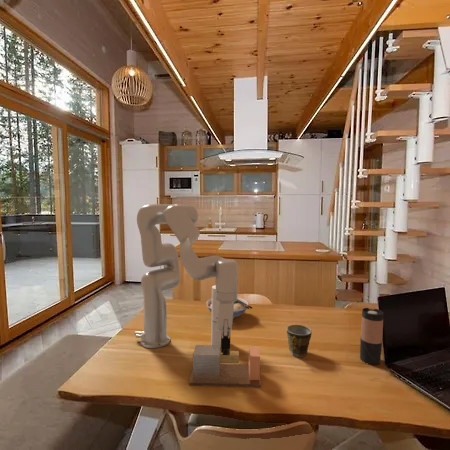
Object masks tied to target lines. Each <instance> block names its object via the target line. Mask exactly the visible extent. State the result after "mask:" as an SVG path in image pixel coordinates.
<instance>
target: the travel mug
mask: <svg viewBox="0 0 450 450" xmlns="http://www.w3.org/2000/svg"><path fill="white" fill-rule="evenodd" d="M360 326H361V327H360V339H359V340H360V342H359V343H360V345H359V347H360V348H359V358H360V361H361V360H362V361H361V362H363V361H364V362H365V363H364V362H363V363H364V364H366V363H368V364H367V365H369V364H372V365H371V366H378V365H380V364H379V363H381V356H382V348H383V347H382V345H383V335H384V334H383V332H384V329H383V328H384V311H383V310H380V309H377V308H374V309H370V308H369V307H365V308H362V311H361V325H360ZM377 364H378V365H377Z"/></svg>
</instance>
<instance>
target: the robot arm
mask: <svg viewBox="0 0 450 450" xmlns="http://www.w3.org/2000/svg"><path fill="white" fill-rule="evenodd" d="M198 220H199V214H198V210H197V209H196V208H195V206H193V205H191V204H175V203H174V204H171V203H169V204H168V203H164V204H163V203H152V204H151V203H150V204H146V205H143V206H141V208H139V210H138V212H137V215H136V224H137V228H138V230H139V231H138V232H139V235H140V244H141V245H140V246H141V254H142V255H141V256H142V261H143V264H144V266H145V267H146V268H156V267H161V266H163V268H159V269H154V270H150V271H147V272H145V273H144V274H143V275H142V277H141V280H140V283H141V289H142V295H143V330H142V331H140V330H138V331H137V330H135V331H134V336H135V339H140V345H141V346H142V347H144V348H147V349H159V348H162V347H165V346H167V345H168V344H169V343H170V342H171V337H170V335H168V333H167V332H168V331H167V330H168V329H167V324H168V323H167V318H168V317H167V316H168V315H167V300H166V297H165V296H164V294H163V292H164V291H167V290H170V289H173V288H176V287H178V285H179V284H180V280H181V271H180V261H181V264H182V266H183V268H184V269H185V270H186V272H187V274H188V275H189V277H191V278H192V279H193V280H195V281H203V280H207V279H210V278H215V285H216V301H218V331H219V330H222V332H221V347H220V350H221V349H230V350H231V331H232V330H233V323H234V322H233V321H234V318H233V309H234V302H235V301H237V298H238V280H239V278H238V277H239V276H238V275H239V273H238V272H239V264H238V262H237V261H236V260H235V259H230V258H224V257H222V256H219V255H210V256H204V257H198V255H197V253H196V252H195V251H194V248H193V244H194V243H195V242H196V241H197V240H198V238H200V233H201V232H200V230H199V228H198V227H197V226H196V223H197V222H198ZM156 225H167V226H168V227H169V228H170V230H171V231H172V232H173V234H174V236H175V237H176V239H177V240H178V242H179V243H180V244H179V252H178V250H177V247H175V245H174V244H173V243H168V242H166V243H163V242H162V241H163V240H162V235H161V232H160V230H159V229H158V227H157V226H156ZM179 258H180V259H179ZM179 260H180V261H179ZM223 328H224V329H223ZM228 328H229V329H228ZM223 331H224V333H223Z"/></svg>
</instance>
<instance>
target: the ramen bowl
mask: <svg viewBox="0 0 450 450" xmlns="http://www.w3.org/2000/svg"><path fill="white" fill-rule="evenodd" d="M206 306H207V308H208V310H209V312H211V314H212V298H210V299H208V300H207V301H206ZM250 309H253V307H252V306H250V303H249V302H248V301H247V300H246V299H243V298H241V297H237V301H235V302H234V309H233V319H234V318H237V317H240V316H242V315H243V314H244V313H245V312H246V310H250Z"/></svg>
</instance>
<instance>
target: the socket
mask: <svg viewBox="0 0 450 450" xmlns="http://www.w3.org/2000/svg"><path fill="white" fill-rule="evenodd" d="M259 349H260V347H259V346H258V345H257V346H255V345H250V346H248V364H249V377H250V380H259V378H260V376H261V375H260V374H261V372H260V371H261V369H260V368H261V354H260V350H259Z"/></svg>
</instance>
